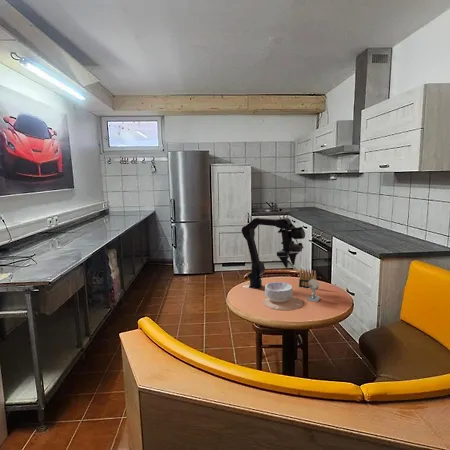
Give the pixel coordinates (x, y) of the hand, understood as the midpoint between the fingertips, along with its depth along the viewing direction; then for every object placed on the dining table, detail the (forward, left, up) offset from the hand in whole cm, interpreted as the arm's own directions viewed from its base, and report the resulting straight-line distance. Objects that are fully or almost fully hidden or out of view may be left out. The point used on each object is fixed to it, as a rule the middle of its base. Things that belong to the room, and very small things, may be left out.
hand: (290, 266), depth 194 cm
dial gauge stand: (+15, -3, -17) cm, 23 cm away
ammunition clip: (+7, +15, -17) cm, 23 cm away
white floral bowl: (-2, -13, -17) cm, 21 cm away
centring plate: (+1, -15, -17) cm, 23 cm away
